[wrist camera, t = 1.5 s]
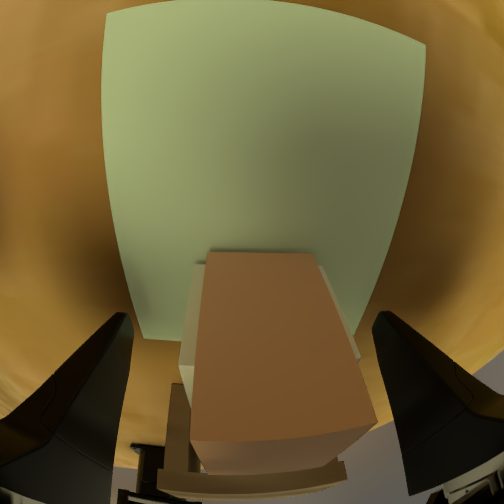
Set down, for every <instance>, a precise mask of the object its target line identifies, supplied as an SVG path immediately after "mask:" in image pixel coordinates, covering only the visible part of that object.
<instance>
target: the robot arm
mask: <svg viewBox="0 0 504 504" xmlns="http://www.w3.org/2000/svg"><path fill="white" fill-rule="evenodd" d="M372 334H373V339H374V344H375V349H376V353H377V359H378V363H379V367H380V371H381V374H382V378H383V381H384V385H385V388H386V392H387V395H388V399H389V403H390V406H391V410H392V414H393V418H394V422H395V426H396V431H397V435H398V439H399V444H400V449H401V453H402V459H403V465H404V470H405V476H406V482H407V488H408V494H409V496H412V495H415V494H418V493H420V492H423V491H426V490H429V489H431V488H434V487H436V486H439V485H441V484H442V488H441V489H439V490H437V491H435V492H434V493H432V494H431V495H430V497H429V499H428V501H427V503H426V504H504V395H500V394H498V393H496V392H495V391H493V390H492V389H490V388H489V387H488V386H486V385H485V384H483V383H482V382H480V381H479V380H478V379H476V378H475V377H474V376H472V375H471V374H469V373H468V372H467V371H466V370H464V369H463V368H462V367H461V366H459V365H458V364H457V363H456V362H453V360H452V359H451V358H450V357H448V356H447V355H446V354H445V353H443V352H442V351H441V350H440V349H438V348H437V347H436V346H435V345H433V344H432V343H431V342H430V341H428V340H427V339H426V338H425V337H423V336H422V335H421V334H419V333H418V332H417V331H416V330H414V329H413V328H412V327H410V326H409V325H408V324H407V323H405V322H404V321H403V320H401V319H400V318H399V317H397V316H396V315H395V314H394V313H392V312H391V311H381V312H379V314H378V316H377V318H376V320H375V322H374V324H373V326H372ZM133 338H134V328H133V325H132V323H131V320H130V317H129V314H128V313H124V312H117V313H115V314H114V315H113V316H112V317H111V318H110V319H109V320H108V321H107V322H105V323H104V324H103V325H102V326H101V327H100V328H99V329H98V330H97V331H96V332H95V333H94V334H93V335H92V336H91V337H90V338H89V339H88V340H87V341H86V342H84V343H83V344H82V345H81V346H80V347H79V348H78V349H77V350H76V351H75V352H74V353H73V354H72V355H71V356H70V357H69V358H68V359H67V360H66V361H65V362H64V363H63V364H62V365H61V366H60V367H59V368H58V369H57V370H56V371H55V372H54V374H52V375H51V376H50V377H49V378H48V379H47V380H46V381H45V382H44V383H43V384H42V385H41V386H40V387H39V388H38V389H37V390H36V391H35V392H34V393H33V394H32V395H31V396H30V397H28V398H27V399H26V400H25V401H24V402H23V403H21V404H20V405H19V406H18V407H17V408H16V409H15V410H13V411H12V412H11V413H10V414H9V415H7V416H6V417H4V418H2V419H0V504H110V497H111V484H112V474H113V472H112V471H113V464H114V456H115V448H116V441H117V435H118V428H119V422H120V417H121V411H122V406H123V400H124V395H125V391H126V386H127V381H128V376H129V371H130V362H131V354H132V346H133ZM130 448H131V449H133V450H134V451H135V452H136V453H137V454H139V463H138V473H137V485H136V493H134V492H130V491H129V490H125V489H124V490H123V489H118V499H117V504H143V503H139V502H134V501H130V500H129V497H132V498H136V499H141V500H146V501H151V502H156V503H163V504H202V502H188V501H186V498H178V497H175V496H173V495H170V494H168V493H166V492H163V491H161V490H159V489H157V474H158V469H164V457H165V449H161V448H153V447H147V446H141V445H135V444H131V446H130Z"/></svg>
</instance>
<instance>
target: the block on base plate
mask: <svg viewBox="0 0 504 504" xmlns="http://www.w3.org/2000/svg"><path fill="white" fill-rule="evenodd" d="M360 359H361V356H360V353H359V351H358V348H357V346H356V343H355V341H354V338H353V336H352V333H351V331H350V328H349V326H348V324H347V321H346V319H345V316H344V314H343V312H342V309H341V307H340V305H339V302H338V300H337V298H336V296H335V293H334V291H333V289H332V286H331V284H330V282H329V280H328V278H327V275H326V273H325V271H324V269H323V267H322V266H318V265H317V262H316V260H315V258H314V256H313V253H249V252H207V257H206V264H194V269H193V274H192V280H191V285H190V291H189V297H188V303H187V309H186V315H185V321H184V327H183V334H182V341H181V348H180V355H179V363H178V366H179V370H180V374H181V377H182V381H183V384H184V388H185V391H186V394H187V398H188V401H189V404H190V407H191V423H190V442H191V444H192V446H193V448H194V450H195V452H196V454H197V456H198V457H199V459H200V461H201V463H202V465H203V467H204V468H205V470H206V472H207V474H208V475H256V474H271V473H282V472H291V471H298V470H305V469H311V468H317V467H323V466H324V465H325V464H327V463H328V462H330V461H331V460H332V459H334V458H335V457H337V456H338V455H339V454H340V453H342V452H343V451H344V450H346V449H347V448H348V447H349V446H351V445H352V444H353V443H354V442H356V441H357V440H358V439H359V438H360V437H362V436H363V435H364V434H365V433H366V432H367V431H369V430H370V429H371V428H372V427H373V426H374V425H375V424H376V423H377V422H378V421H377V418H376V415H375V411H374V408H373V405H372V402H371V400H370V397H369V394H368V391H367V388H366V385H365V382H364V379H363V377H362V374H361V371H360V368H359V366H358V362H359V361H360Z"/></svg>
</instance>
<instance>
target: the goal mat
mask: <svg viewBox="0 0 504 504" xmlns="http://www.w3.org/2000/svg"><path fill="white" fill-rule="evenodd" d="M425 61H426V45H425V44H422V43H420V42H418V41H416V40H414V39H412V38H410V37H407V36H405V35H403V34H400V33H398V32H395V31H393V30H390V29H388V28H385V27H383V26H380V25H377V24H374V23H371V22H368V21H365V20H362V19H359V18H356V17H352V16H349V15H345V14H342V13H338V12H334V11H330V10H325V9H321V8H316V7H311V6H306V5H300V4H294V3H287V2H279V1H270V0H177V1H168V2H160V3H154V4H148V5H142V6H137V7H132V8H127V9H123V10H118V11H114V12H110V13H107V17H106V25H105V34H104V44H103V58H102V84H101V104H102V132H103V146H104V158H105V168H106V177H107V185H108V192H109V199H110V205H111V211H112V217H113V223H114V228H115V233H116V238H117V243H118V248H119V252H120V257H121V261H122V265H123V270H124V274H125V277H126V281H127V285H128V289H129V292H130V296H131V300H132V303H133V306H134V310H135V313H136V316H137V320H138V323H139V326H140V329H141V332H142V335H143V338H144V339H155V340H169V341H182V334H183V327H184V321H185V315H186V309H187V303H188V297H189V291H190V285H191V280H192V274H193V269H194V264H206V257H207V252H249V253H313V256H314V258H315V260H316V262H317V265H318V266H322V267H323V269H324V271H325V273H326V275H327V278H328V280H329V282H330V284H331V286H332V289H333V291H334V293H335V296H336V298H337V300H338V302H339V305H340V307H341V309H342V312H343V314H344V316H345V319H346V321H347V324H348V326H349V328H350V331H351V333H352V336H354V333H355V331H356V329H357V327H358V325H359V323H360V320H361V318H362V316H363V314H364V311H365V309H366V307H367V304H368V302H369V299H370V297H371V294H372V292H373V290H374V287H375V284H376V282H377V279H378V277H379V274H380V271H381V269H382V266H383V263H384V260H385V257H386V255H387V252H388V249H389V246H390V243H391V240H392V237H393V233H394V230H395V227H396V224H397V220H398V217H399V213H400V210H401V206H402V203H403V199H404V195H405V191H406V187H407V183H408V179H409V175H410V170H411V166H412V161H413V156H414V151H415V146H416V140H417V134H418V128H419V122H420V115H421V107H422V99H423V89H424V77H425Z"/></svg>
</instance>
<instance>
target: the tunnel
mask: <svg viewBox="0 0 504 504" xmlns="http://www.w3.org/2000/svg"><path fill="white" fill-rule="evenodd" d="M190 423H191V407H190V404H189V401H188V398H187V394H186V391H185V388H184V385H181V384H172V387H171V395H170V404H169V413H168V422H167V433H166V444H165V457H164V469H158V474H157V489H159V490H161V491H163V492H166V493H168V494H170V495H173V496H175V497H178V498H186V499H198V500H219V501H221V500H222V501H237V500H238V501H239V500H262V499H274V498H283V497H292V496H298V495H305V494H311V493H316V492H319V491H322V490H324V489H327V488H329V487H331V486H334V485H336V484H338V483H341V482H343V481H345V480H347V474H346V469H345V465H344V461H340V462H338V458H337V457H335V458H334V459H332V460H331V461H330V462H328V463H327V464H325V465H324V466H323V467H317V468H311V469H305V470H298V471H291V472H282V473H271V474H256V475H208V474H207V473H200V459H199V457H198V456H197V454H196V452H195V450H194V448H193V446H192V444H191V442H190Z"/></svg>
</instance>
